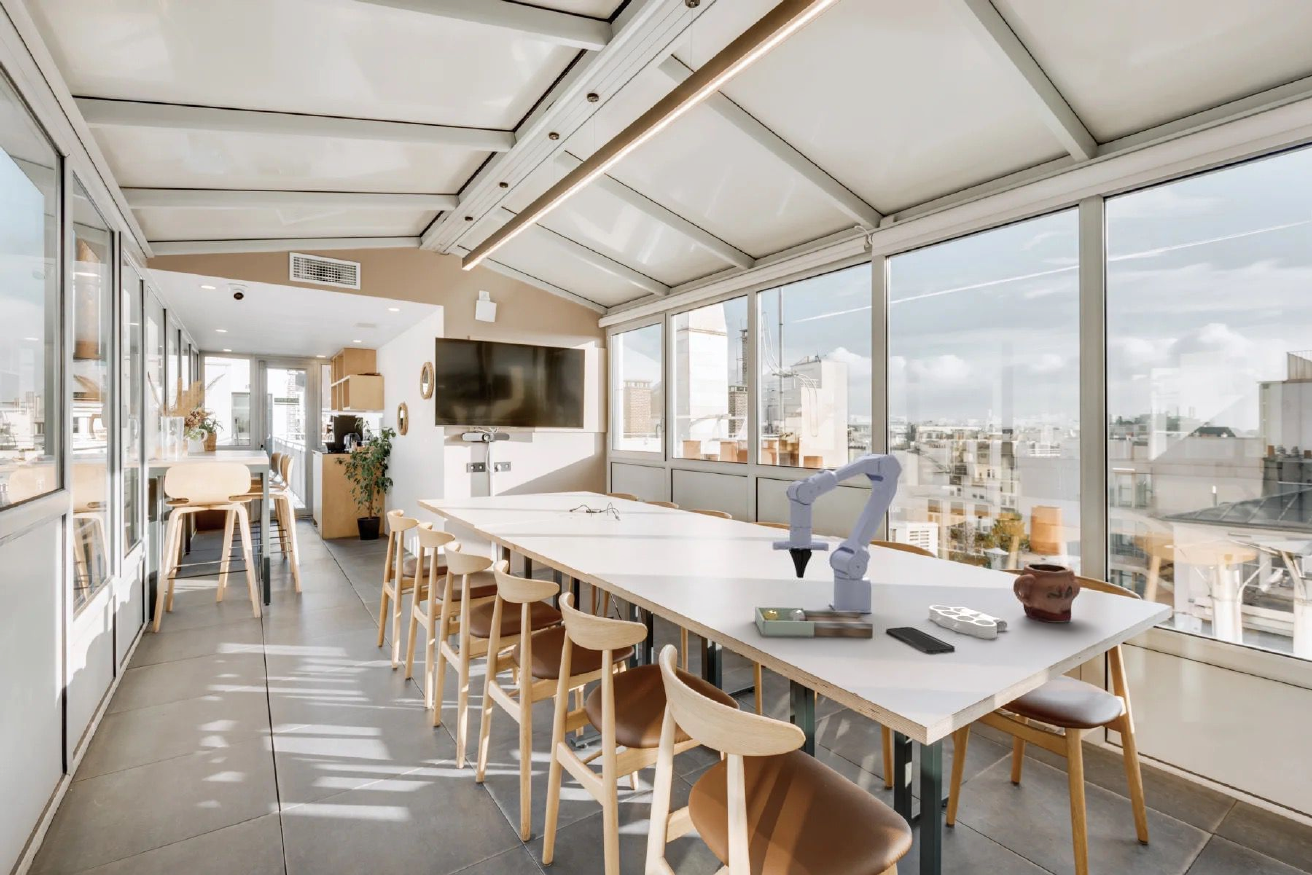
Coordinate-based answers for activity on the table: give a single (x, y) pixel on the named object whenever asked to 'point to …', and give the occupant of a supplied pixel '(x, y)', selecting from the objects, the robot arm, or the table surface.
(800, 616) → the steel ball
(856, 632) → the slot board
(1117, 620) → the table surface
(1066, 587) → the decorative planter
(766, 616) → the brass ball
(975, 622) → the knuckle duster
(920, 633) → the phone
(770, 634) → the sage tray
